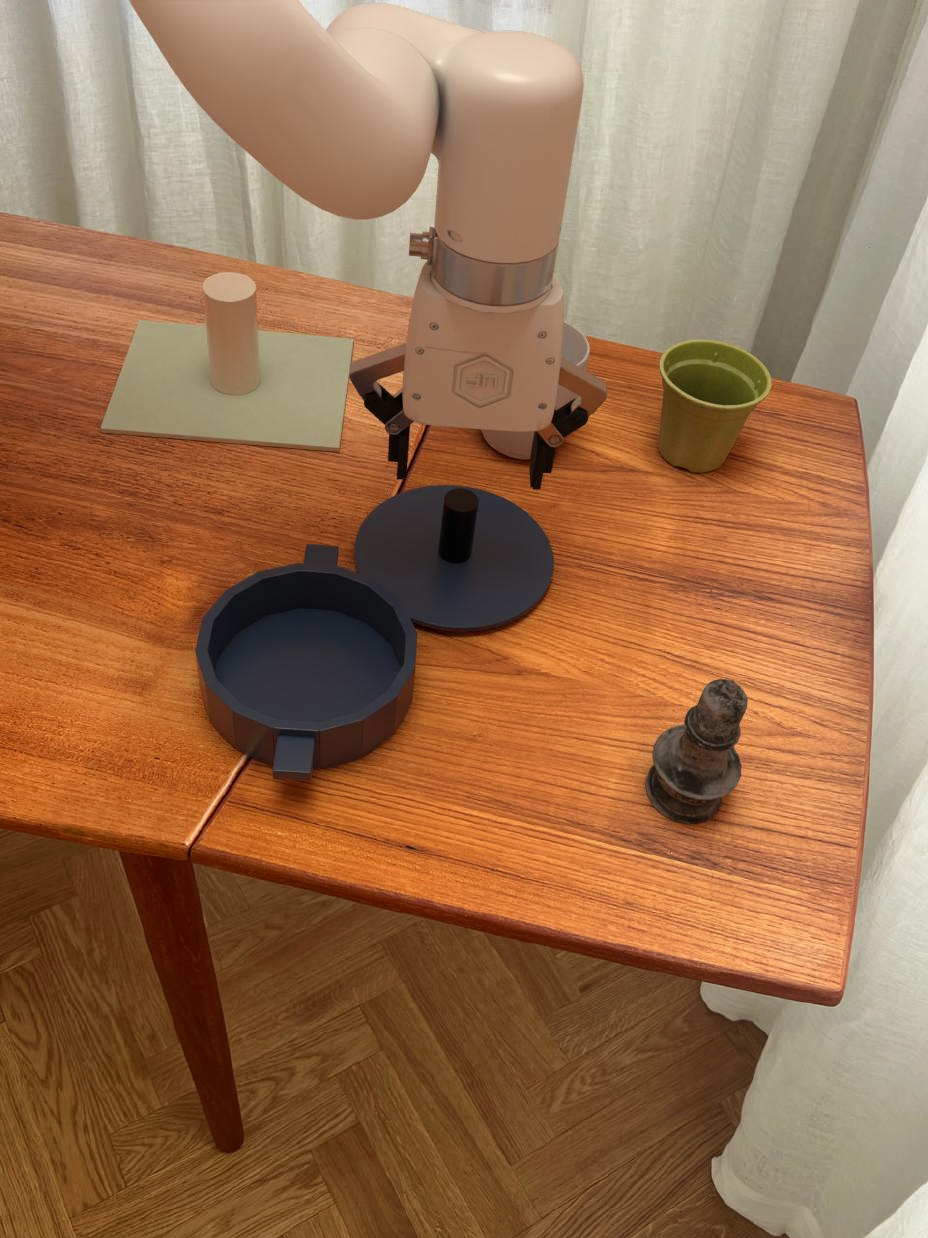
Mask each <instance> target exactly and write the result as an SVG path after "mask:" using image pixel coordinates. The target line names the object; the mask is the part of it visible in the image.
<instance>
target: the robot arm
mask: <svg viewBox="0 0 928 1238" xmlns="http://www.w3.org/2000/svg"><path fill="white" fill-rule="evenodd" d="M128 2H129V3H130V5H131V7H132V8H133V10H134V12H135V13H136V15H137V18H138V19H139V20H140V21H141V23H142V25H143V26H144V27H145V30H146V31H147V32H148V34H149V35H150V37H151V39H152V40H153V41H154V43H155V45H156V46H157V48H158V50H159V51H160V53H161V54H162V56H163V57H164V60H165V61H166V62H167V64H168V65H169V67H170V69H171V70H172V71H173V73H174V74H175V76H176V78H177V79H178V80H179V82H180V83H181V84H182V86H183V87H184V88H185V90H186V91H187V92H188V94H189V95H190V96H191V97H192V98H193V99H194V101H195V102H196V104H198V106H199V107H200V108H201V109H202V110H203V111H204V113H205V114H206V115H207V116H208V117H209V118H210V120H211V121H213V122H214V123H215V124H216V125H217V127H219V128H220V129H221V130H222V131H223V132H224V133H225V134H226V135H227V136H228V137H230V139H232V141H234V142H235V143H236V144H237V145H238V146H239V147H240V148H242V149H243V150H244V151H245V152H246V153H247V154H249V156H251V158H253V159H254V160H255V161H256V162H257V163H259V164H260V165H261V166H262V167H263V168H264V169H265V170H267V172H269V174H271V175H272V176H273V177H274V178H276V179H277V180H278V181H279V182H281V183H282V184H283V185H284V186H285V187H287V188H288V189H289V190H291V191H292V192H293V193H295V194H296V195H297V196H298V197H300V198H301V199H303V200H305V201H306V202H308V203H310V204H311V205H313V206H315V207H316V208H318V209H320V210H322V211H324V212H327V213H330V214H332V215H334V216H337V217H341V218H345V219H349V220H350V219H351V220H357V221H358V220H360V221H361V220H363V221H364V220H365V221H367V220H372V219H377V218H382V217H385V216H387V215H389V214H391V213H394V212H395V211H396V210H398V209H399V208H400V207H402V206H403V205H405V204H406V203H407V202H408V201H409V200H410V198H412V196H413V195H414V194H415V193H416V191H417V190H418V188H419V187H420V186H421V183H422V182H423V181H422V180H423V178H424V176H425V175H426V171H427V169H428V165H429V161H430V158H431V155H433V156H434V157H435V158H436V160H437V163H438V168H437V169H438V170H437V183H436V194H435V195H436V197H435V198H436V199H435V210H434V222H433V223H434V226H429V228H428V231H422V233H416V232H410V233H409V245H408V256H409V257H417V258H420V260H426V261H425V263H424V264H423V265H422V267H421V271H420V273H419V276H418V278H417V279H418V280H417V283H416V287H415V290H414V294H413V299H412V304H411V310H410V315H409V320H408V325H407V333H406V341H405V343H402V344H399V345H396V346H393V347H391V348H388V349H385V350H382V351H379V352H377V353H374V354H371V355H368V356H365V357H362V358H359V359H357V360H353V361H351V366H350V374H349V380H350V382H351V384H352V386H353V387H354V389H355V390H356V392H357V394H358V396H359V397H360V398H361V399H362V401H363V406H364V408H365V409H366V410H367V411H369V413H370V414H372V415H373V416H374V417H375V418H376V419H377V420H378V421H380V422H381V423H382V425H384V431H385V432H386V433H387V434H388V447H387V448H388V451H387V462H390V463H397V466H396V480H398V481H399V480H400V481H404V480H405V479H407V478H408V463H409V448H410V432H411V425H412V424H413V423H418V424H420V425H425V426H434V427H446V428H455V429H468V430H480V429H481V430H494V431H509V432H534V437H533V443H532V449H531V454H530V459H529V461H528V462H529V464H528V465H529V487H530V488H532V490H538V491H541V487H542V483H543V477H544V474H552V472H553V468H554V467H553V466H554V461H555V458H556V457H555V456H556V452H557V448H558V447H560V446H561V445H562V444H563V443H564V438H566V437H568V436H569V435H571V434H573V433H574V432H575V431H577V430H579V429H580V428H583V426H585V425H586V424H587V423H588V422H589V418H590V417H591V416H592V415H594V414H595V412H596V411H597V410H598V409H599V408H600V407H601V406H602V405H603V404H604V402H605V401H607V400H608V386H607V383H606V381H604V380H603V379H602V378H600V377H598V376H596V375H594V374H593V373H591V372H589V371H588V370H587V371H586V370H584V369H582V368H580V367H579V366H577V365H575V364H573V363H571V362H570V361H568V360H566V359H564V358H562V357H561V356H562V345H563V332H564V320H565V299H564V291H563V286H562V282H561V278H560V277H559V275H558V274H557V272H556V271H555V268H556V263H557V255H558V249H559V242H560V237H561V232H562V223H563V219H564V212H565V206H566V201H567V193H568V187H569V182H570V175H571V169H572V162H573V158H574V157H573V155H574V151H575V144H576V138H577V133H578V127H579V121H580V114H581V109H582V102H583V95H584V94H583V93H584V74H583V70H582V67H581V65H580V62H579V60H578V59H577V57H576V56H575V54H573V52H571V50H569V48H567V47H566V46H565V45H563V44H561V43H560V42H558V41H557V40H554V39H551V38H549V37H547V36H544V35H540V34H536V33H533V32H526V31H522V30H509V29H508V30H506V29H505V30H489V31H482V30H479V29H478V30H477V29H475V28H470V27H467V26H464V25H460V24H457V23H454V22H451V21H447V20H445V19H444V20H443V19H441V18H438V17H435V16H432V15H430V14H427V13H423V12H420V11H417V10H415V9H411V8H408V7H404V6H401V5H398V4H397V5H396V4H392V3H386V2H367V3H361V4H356V5H354V6H351V7H349V8H347V9H346V10H344V11H343V12H341V13H339V14H338V15H337V16H336V17H334V19H333V20H332V21H331V22H330V23H329V25H328V27H327V28H326V29H325V28H324V27H323V26H322V25H321V24H320V23H319V21H318V20H317V19H316V18H314V16H313V15H312V14H311V13H310V11H308V10H307V8H305V7H304V5H303V4H302V2H301V1H300V0H128ZM399 373H402V387H401V388H400V389H398V390H397V391H396V392H395V393H394V394H392V393H390V392H389V391H388V390H387V389H386V388H385V387H384V386H383V385H382V384H380V383H379V382H378V380H382V379H384V378H388V377H390V376H393V375H397V374H399ZM558 384H559V385H561V386H563V387H565V388H567V389H568V390H570V391H572V392H574V393H576V394H578V397H577V398H575V399H573V400H572V401H570V402H568V403H567V404H565V405H564V406H562V407H561V408H559V409H558V408H557V407H556V406H555V403H556V396H557V389H558ZM481 430H480V431H481Z"/></svg>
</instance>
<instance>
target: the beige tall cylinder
mask: <svg viewBox="0 0 928 1238" xmlns="http://www.w3.org/2000/svg"><path fill="white" fill-rule="evenodd" d="M201 291H202V302H203V313H204V326H206V336H207V347H208V358H209V369H210V381H211V384H212V386H213V387H214V388H215V389H216V390H218V391H219V392H222V393H224V394H228V395H243V394H247V393H250V392H252V391H254V390H255V389H256V388H257V387H258V386H259V384H260V382H261V374H260V354H259V333H258V330H259V315H258V295H257V294H258V291H257V283H256V282H255V280H253V278H251V277H250V276H248V275H246V274H243V273H241V272H235V271H224V272H218V273H215V274H212V275H209V276H208V277H207V278H205V280H204V281H203V283H202V285H201Z"/></svg>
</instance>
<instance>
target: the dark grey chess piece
mask: <svg viewBox="0 0 928 1238" xmlns="http://www.w3.org/2000/svg"><path fill="white" fill-rule="evenodd" d="M748 701H749V700H748V696H747V694H746V692H745V690H744V689H743V687H741V686H740V685H739V684H738V683H737V682H735V680H733V679H727V678H718V679H713V680H711V681H710V682H708V683H707V684H706V685H705V686H704V688H703V689H702V692H701V694H700V697H699V699H698V701H697V703H696V705H693V706H691V708H690V709H689V710H688V711H686V714H685V716H684V722H683V724H679V725H673V726H672V727H670V728H667V729H666V730H664V731H662V732H661V734H660V735H658V737H657V738H656V740H655V742H654V745H653V747H652V762H653V765H652V766H651V767H650V769H649V771H648V773H647V774H646V777H645V784H644V786H645V792H646V796H647V798H648V799H649V802H650V804H651V805H652V806H653V807H654V809H656V811H657V812H659V813H660V814H661V815H662V816H664V817H665V818H667V819H669V820H671V821H673V822H675V823H679V824H684V825H699V824H703V823H706V822H708V821H710V820H712V819H713V818H714V817H715V816H716V815H717V814H718V813H719V812H720V809H721V806H722V805H723V799H724V797H725V796H727V795H729V794H731V793H732V792H733V791H734V790H735V788H736V787H738V784H739V782H740V781H741V777H742V768H743V767H742V763H741V759H740V755H739V754H738V752H737V750H736V749H735V746H736V745H737V744H738V743H739V741H740V739H741V733H742V729H741V725H740V724H741V722H742V720H743V718H744V716H745V713H746V711H747V709H748Z"/></svg>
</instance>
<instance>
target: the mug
mask: <svg viewBox="0 0 928 1238" xmlns="http://www.w3.org/2000/svg"><path fill="white" fill-rule="evenodd" d="M590 354H591V348H590V343H589V341H588V339H587V336H585V334H584V333H583V332H582V331H581V330H580V329H579V328H578V327H577V326H575V325H574V324H572V322H571V323H570V322H569V321H568V320H566V319H564V332H563V345H562V356H561V357H562V358H564V359H566V360H568V361H570V362H571V363H573V364H575V365H577V366H579V367H580V368H582V369H584V370H586V371H587V372H588V364H589V359H590ZM577 397H578V394H576V393H574V392H572V391H570V390H568V389H567V388H565V387H563V386H561V385H559V384H558V389H557V396H556V403H555V406H556V407H557V408H558V409H559V408H561V407H562V406H564V405H565V404H567V403H568V402H570V401H572V400H573V399H575V398H577ZM479 431H480V432H481V433H482V437H483V438H484V439H485V442H487V444H488V445H489V446H490V447H491V448H492V449H494V450H495V451H496V452H498V453H499V454H502V455H504V456H507V457H510V458H512V459H518V460H530V454H531V449H532V443H533V437H534V432H509V431H494V430H481V429H479Z"/></svg>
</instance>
